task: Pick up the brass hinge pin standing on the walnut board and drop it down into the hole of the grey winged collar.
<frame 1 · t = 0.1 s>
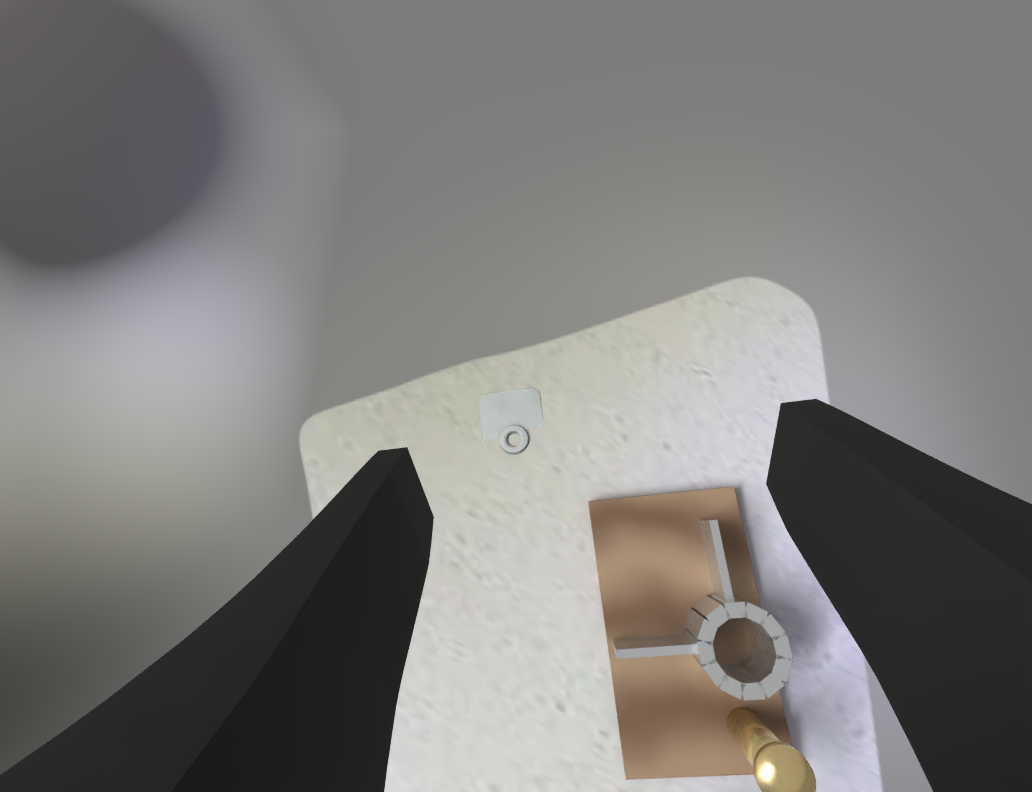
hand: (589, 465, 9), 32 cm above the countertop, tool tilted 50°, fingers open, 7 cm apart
grey winged collar: (725, 635, 35), resting on walnut board
walnut board: (680, 621, 36), on the countertop
mounting bracket: (520, 497, 41), on the countertop
hinge pin: (743, 725, 33), point 1 cm above the countertop, touching walnut board
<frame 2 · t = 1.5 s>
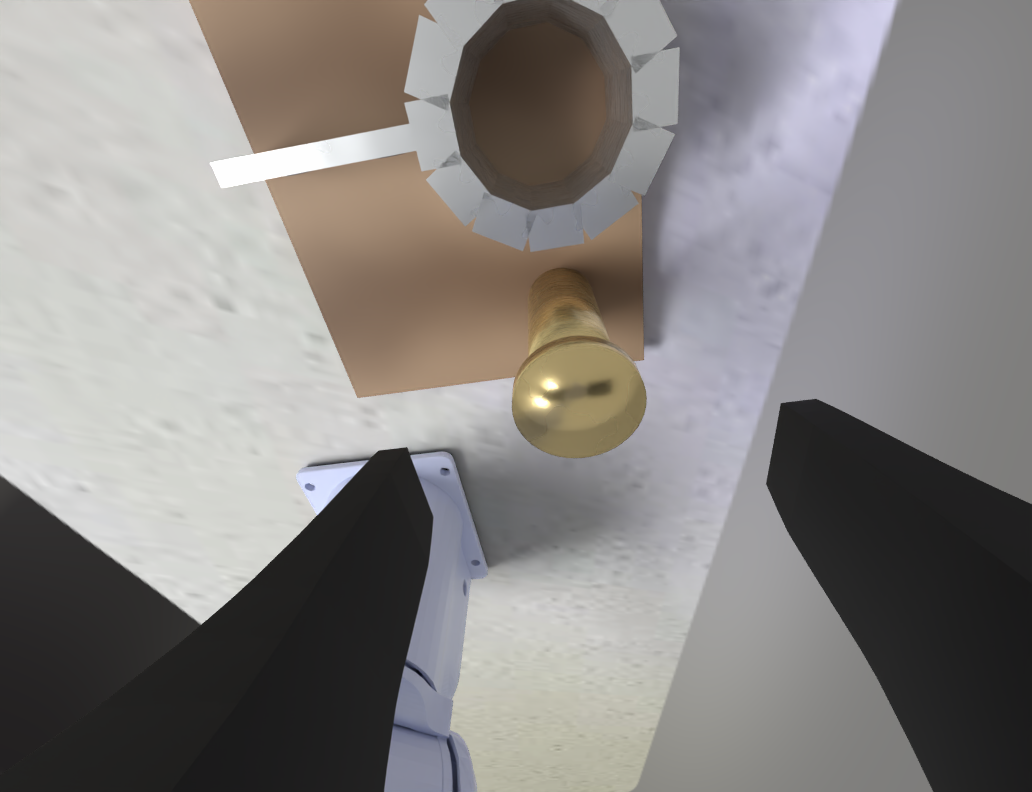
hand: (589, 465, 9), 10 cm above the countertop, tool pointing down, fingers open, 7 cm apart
grey winged collar: (538, 110, 14), resting on walnut board
walnut board: (437, 91, 14), on the countertop
hinge pin: (560, 300, 17), point 1 cm above the countertop, touching walnut board
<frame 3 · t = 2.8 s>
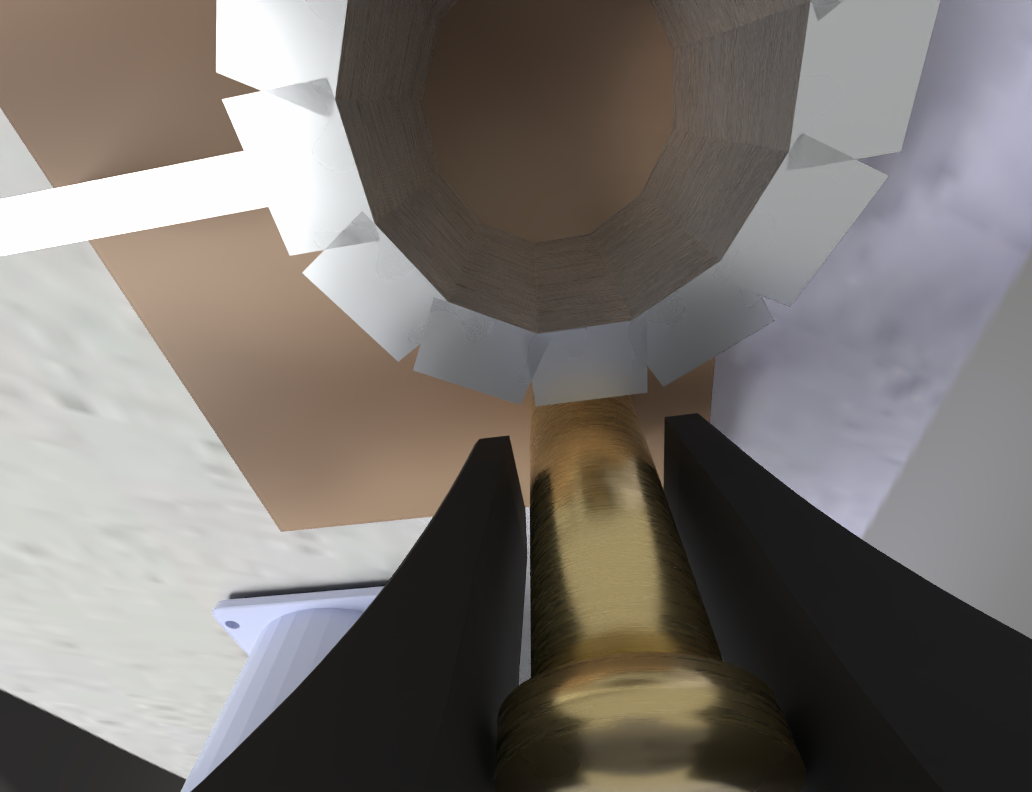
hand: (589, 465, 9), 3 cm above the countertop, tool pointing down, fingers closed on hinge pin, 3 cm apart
grey winged collar: (548, 114, 7), resting on walnut board
walnut board: (372, 80, 8), on the countertop
hinge pin: (580, 410, 11), point 1 cm above the countertop, touching gripper, walnut board
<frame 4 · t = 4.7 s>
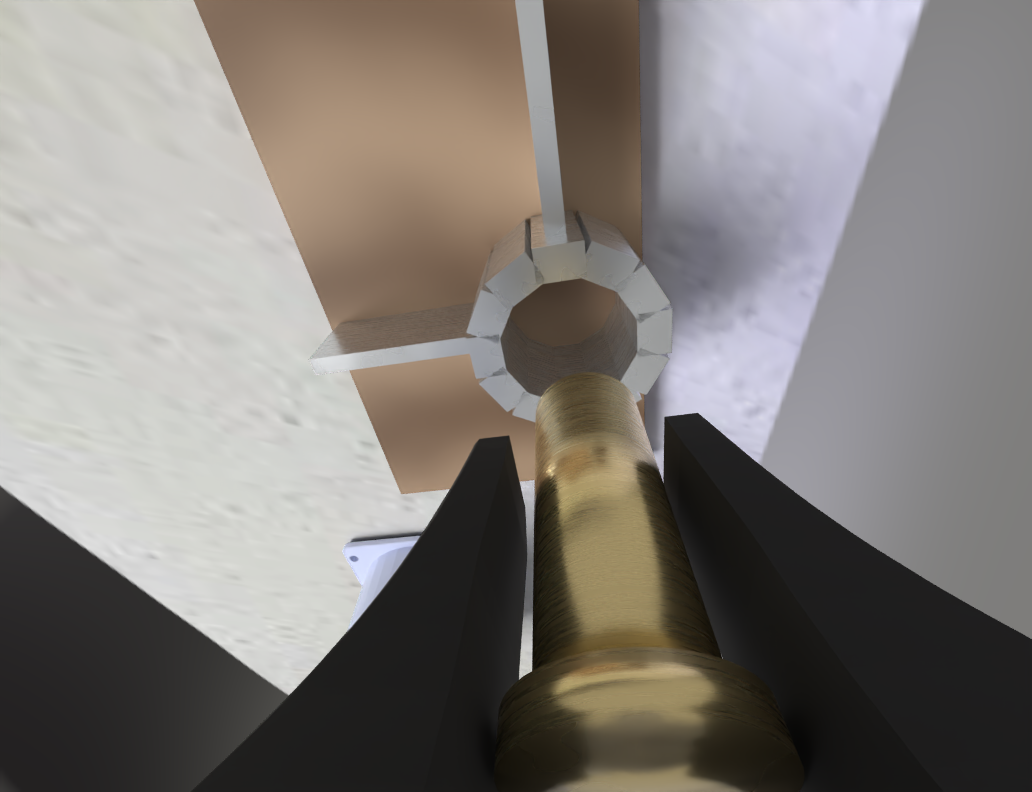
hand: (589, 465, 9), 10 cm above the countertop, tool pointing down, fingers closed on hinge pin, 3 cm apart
grey winged collar: (560, 297, 17), resting on walnut board
walnut board: (478, 274, 17), on the countertop
hinge pin: (586, 416, 11), point 8 cm above the countertop, touching gripper
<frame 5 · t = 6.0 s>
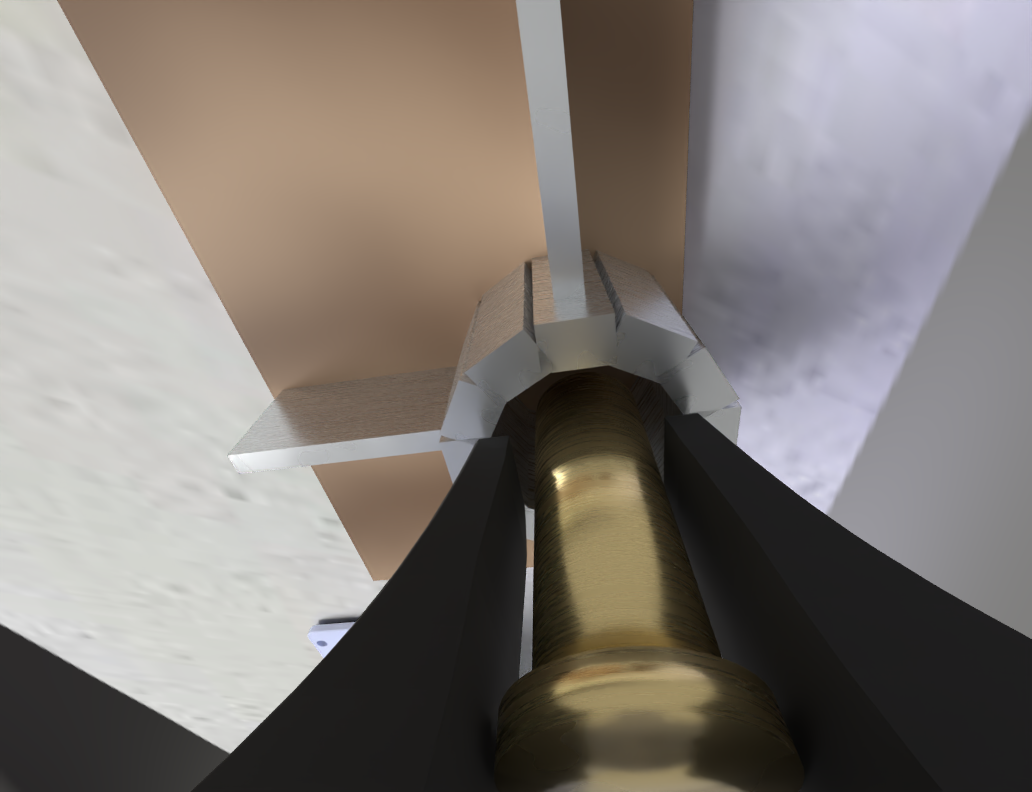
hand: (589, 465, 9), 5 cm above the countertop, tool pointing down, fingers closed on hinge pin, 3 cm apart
grey winged collar: (571, 359, 13), resting on walnut board
walnut board: (464, 327, 13), on the countertop
hinge pin: (585, 416, 11), point 3 cm above the countertop, touching gripper
when the fingers open (5 cm above the countertop, at t = 6.8 s): hinge pin drops 2 cm, resting on walnut board.
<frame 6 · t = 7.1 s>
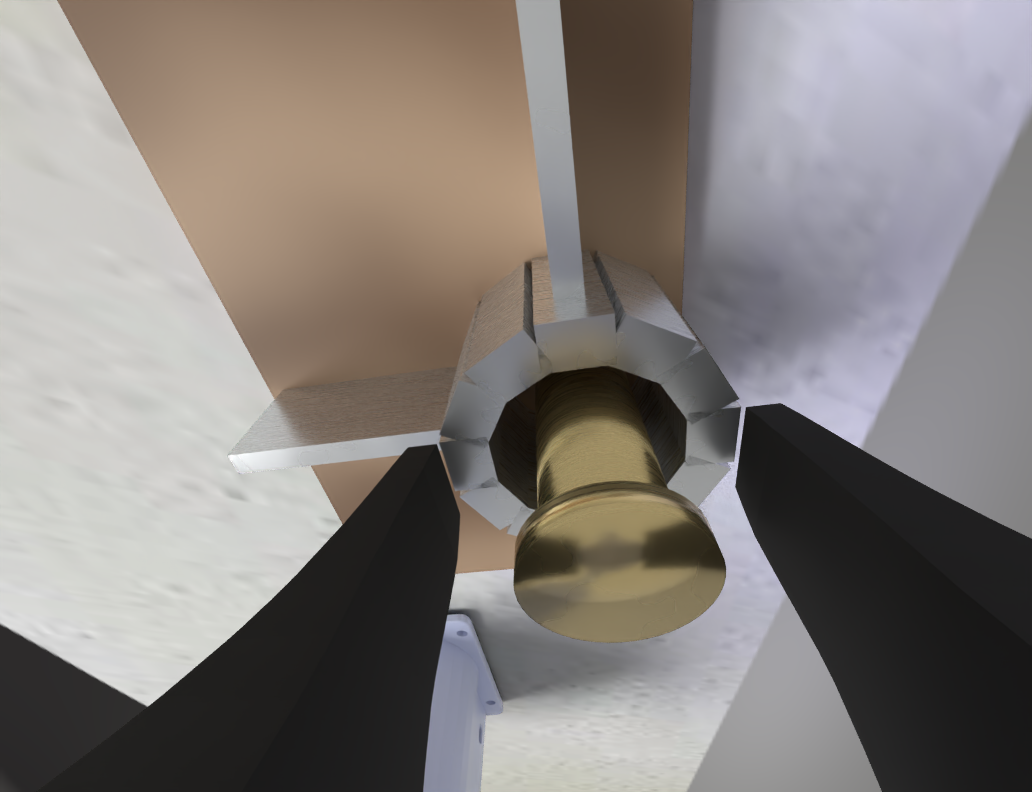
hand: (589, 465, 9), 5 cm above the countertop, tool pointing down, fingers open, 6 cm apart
grey winged collar: (571, 359, 13), resting on walnut board
walnut board: (464, 327, 13), on the countertop
hinge pin: (576, 365, 13), point 1 cm above the countertop, touching walnut board
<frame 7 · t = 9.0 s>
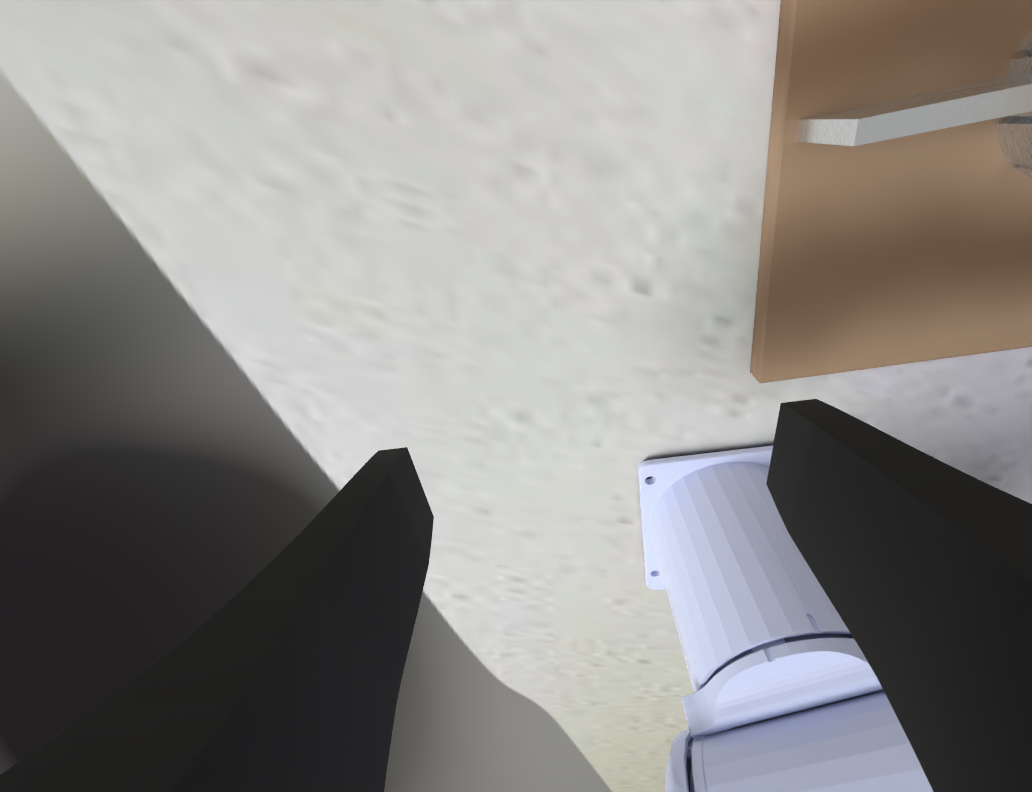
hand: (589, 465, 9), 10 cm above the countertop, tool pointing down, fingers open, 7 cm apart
walnut board: (985, 51, 14), on the countertop
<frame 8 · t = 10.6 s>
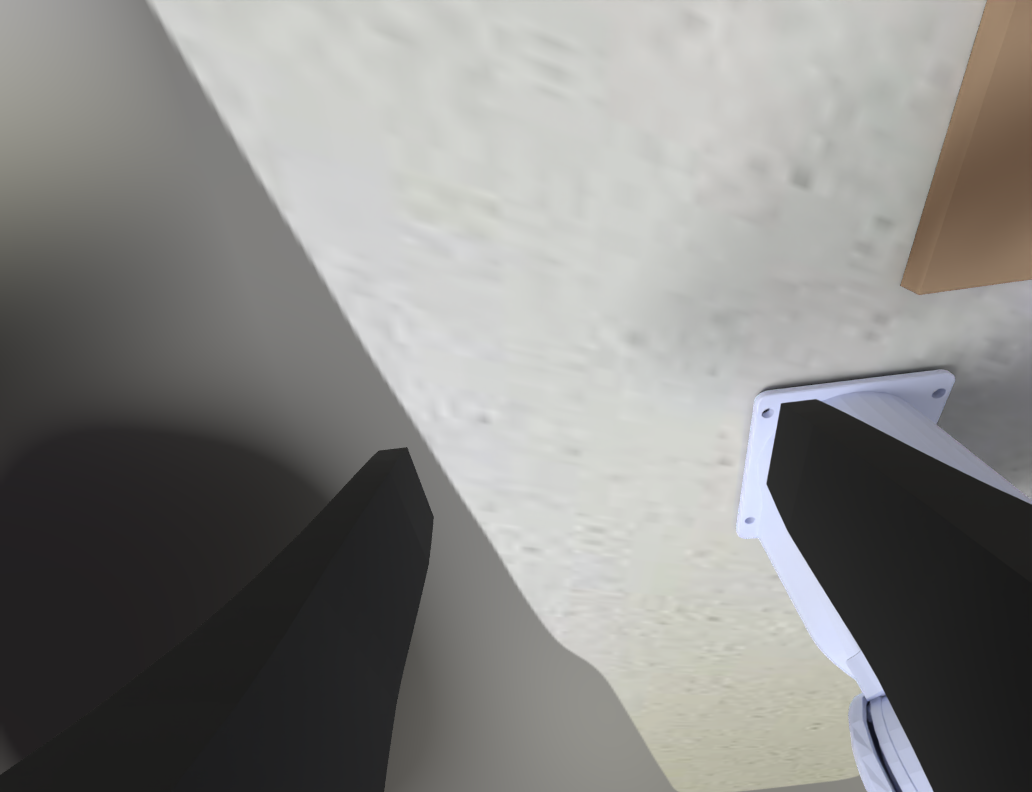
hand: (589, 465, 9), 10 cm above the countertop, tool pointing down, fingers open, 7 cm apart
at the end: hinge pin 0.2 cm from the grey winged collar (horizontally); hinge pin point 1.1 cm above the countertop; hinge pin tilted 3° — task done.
